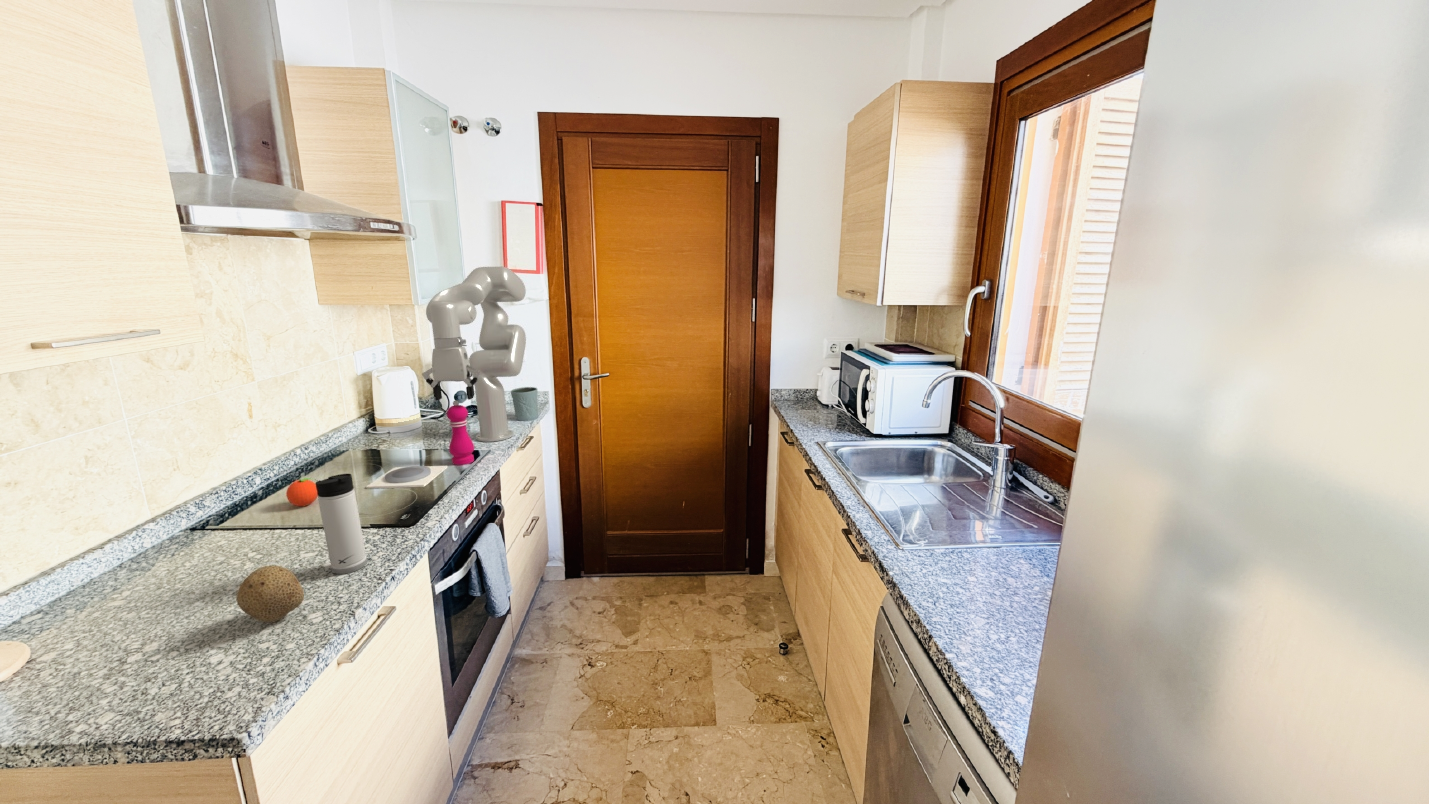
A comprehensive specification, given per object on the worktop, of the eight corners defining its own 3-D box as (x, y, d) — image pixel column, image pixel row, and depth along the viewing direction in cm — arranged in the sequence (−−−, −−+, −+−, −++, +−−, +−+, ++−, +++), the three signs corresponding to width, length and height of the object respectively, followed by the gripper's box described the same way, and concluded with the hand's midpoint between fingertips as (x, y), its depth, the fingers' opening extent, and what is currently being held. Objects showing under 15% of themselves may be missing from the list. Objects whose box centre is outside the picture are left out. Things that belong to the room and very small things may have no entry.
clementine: (314, 496, 160) (309, 472, 158) (330, 500, 157) (326, 475, 155) (283, 508, 152) (277, 482, 151) (299, 512, 150) (294, 486, 148)
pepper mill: (469, 465, 182) (462, 403, 177) (446, 466, 182) (438, 403, 177) (479, 458, 189) (472, 397, 184) (457, 458, 189) (449, 398, 184)
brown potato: (237, 620, 103) (225, 569, 101) (297, 598, 110) (287, 550, 108) (249, 641, 98) (237, 587, 95) (311, 617, 104) (301, 566, 102)
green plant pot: (542, 415, 242) (539, 386, 239) (536, 421, 232) (533, 391, 229) (517, 415, 241) (514, 387, 238) (510, 422, 231) (507, 392, 229)
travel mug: (348, 577, 117) (330, 483, 113) (324, 571, 120) (306, 479, 115) (375, 562, 123) (359, 472, 118) (352, 557, 125) (336, 469, 121)
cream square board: (394, 469, 180) (394, 464, 180) (447, 467, 180) (446, 462, 180) (366, 488, 165) (365, 483, 164) (423, 486, 165) (423, 481, 165)
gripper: (481, 341, 180) (487, 395, 184) (424, 343, 180) (431, 397, 184) (472, 344, 173) (478, 400, 177) (413, 345, 173) (420, 402, 176)
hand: (454, 399), depth 180 cm, fingers open, 9 cm apart
